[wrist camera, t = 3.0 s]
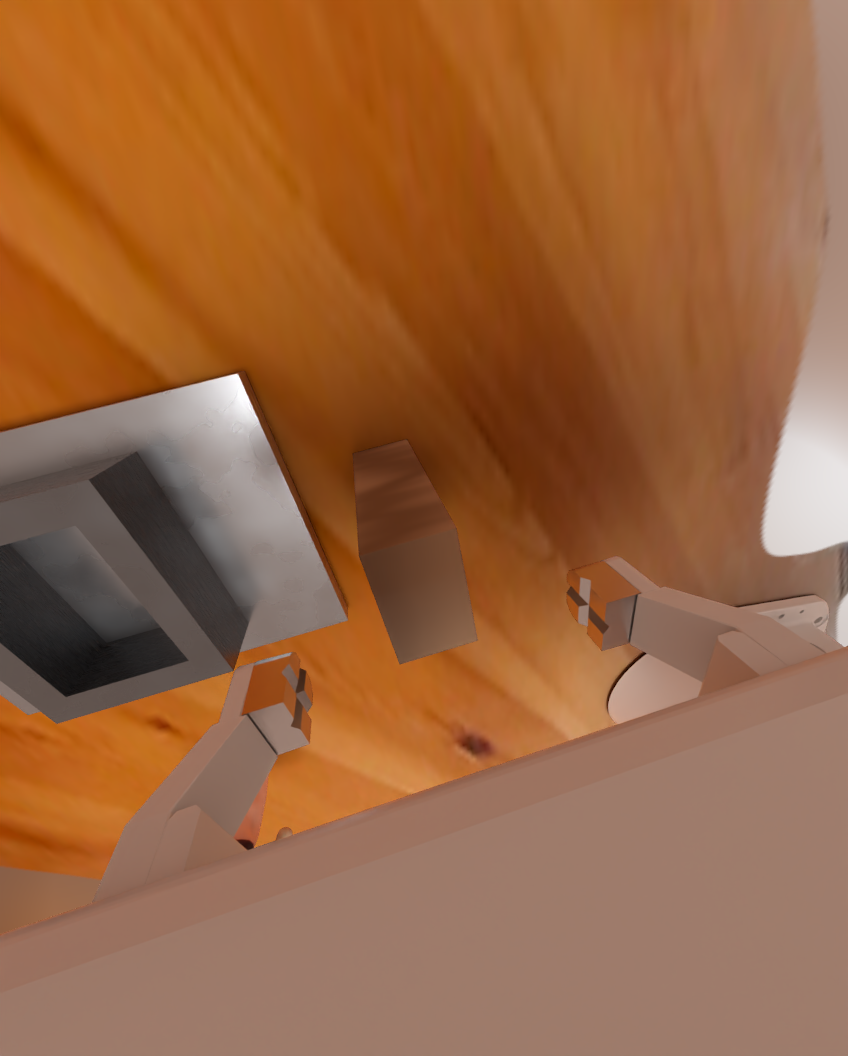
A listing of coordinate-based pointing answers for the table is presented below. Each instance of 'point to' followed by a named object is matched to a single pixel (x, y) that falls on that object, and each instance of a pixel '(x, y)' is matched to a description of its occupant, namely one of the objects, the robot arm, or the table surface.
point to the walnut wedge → (410, 553)
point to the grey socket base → (150, 549)
